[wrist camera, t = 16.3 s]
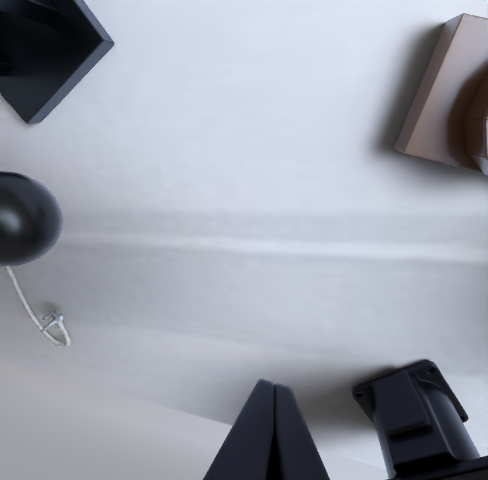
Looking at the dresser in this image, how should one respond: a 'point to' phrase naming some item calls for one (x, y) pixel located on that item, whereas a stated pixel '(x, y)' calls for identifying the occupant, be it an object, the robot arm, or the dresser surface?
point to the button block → (452, 99)
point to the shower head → (56, 318)
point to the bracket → (46, 52)
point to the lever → (26, 219)
